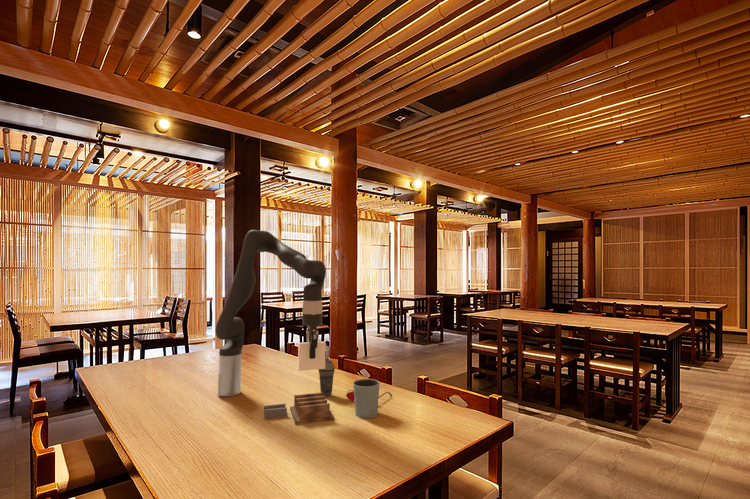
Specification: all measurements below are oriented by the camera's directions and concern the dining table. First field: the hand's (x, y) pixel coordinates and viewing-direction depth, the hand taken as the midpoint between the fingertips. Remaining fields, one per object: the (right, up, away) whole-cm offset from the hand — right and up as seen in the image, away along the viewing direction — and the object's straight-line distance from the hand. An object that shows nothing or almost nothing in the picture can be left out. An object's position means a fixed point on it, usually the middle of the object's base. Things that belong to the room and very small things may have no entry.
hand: (311, 357), depth 149 cm
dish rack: (0, -21, -1) cm, 21 cm away
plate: (0, -4, 0) cm, 4 cm away
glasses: (+22, -23, +19) cm, 37 cm away
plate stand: (-14, -21, -1) cm, 25 cm away
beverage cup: (+3, -23, +21) cm, 31 cm away
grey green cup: (+21, -22, 0) cm, 30 cm away
